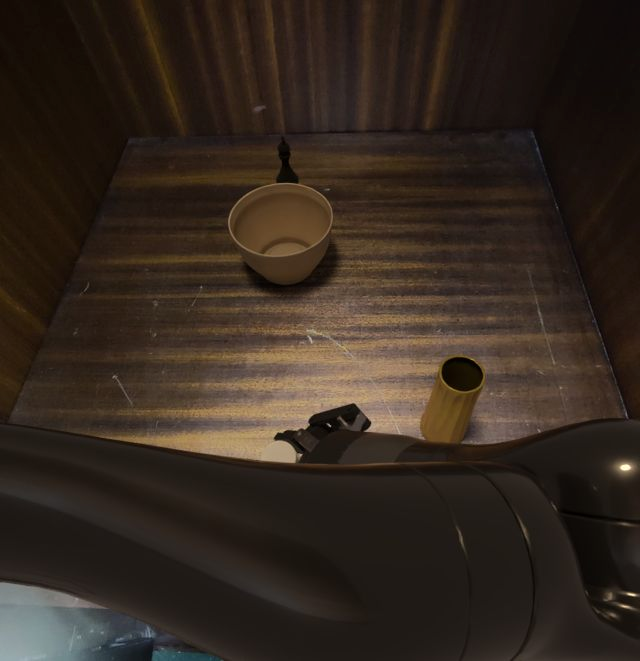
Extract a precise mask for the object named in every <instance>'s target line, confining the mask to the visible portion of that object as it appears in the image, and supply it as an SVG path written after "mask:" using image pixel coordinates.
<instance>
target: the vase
mask: <svg viewBox="0 0 640 661" xmlns="http://www.w3.org/2000/svg"><path fill="white" fill-rule="evenodd" d="M486 377H487V375H486V370H485V368H484V366H483V365H482V364H481V363H480V362H479V361H478V359H475V358H474V357H472V356H470V355H466V354H461V353H460V354H459V353H458V354H452V355H449V356H447V357H445V358H444V359H443V360H441V362H440V364H439V367H438V371H437V374H436V378H435V380H434V382H433V386H432V390H431V392H430V396H429V399H428V401H427V404H426V406H425V410H424V412H423V414H422V415H421V417H420V421H419V425H420V426H419V427H420V432H421V434H422V435H423V437H424V438H425V440H427V441H436V442H447V443H459V444H461V443H462V441H463V440H464V438H466V434H467V429H468V427H469V424H470V420H471V418H472V415H473V412H474V410H475V406H476V403H477V401H478V399H479V397H480V395H481V393H482V390H483V388H484V385H485V383H486V382H485V381H486Z"/></svg>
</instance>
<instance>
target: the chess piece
mask: <svg viewBox="0 0 640 661" xmlns="http://www.w3.org/2000/svg"><path fill="white" fill-rule="evenodd" d="M290 150H291V145H290V144H289V143H287V142H286V139H285V137H284V135H281V136H280V142H279V143H278V145H277V151H278V153H277V156H278V158H279V159H280V161H281V168H280V170H279V173H278V174H277V177H276V179H275V182H276V183H275V184H277V183H294V184H299V181H300V178H299V177H298V175H297V173H296V172H295V171H294V170H293V167H292V166H291V165H290V158H291V151H290Z"/></svg>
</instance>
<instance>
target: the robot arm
mask: <svg viewBox="0 0 640 661" xmlns="http://www.w3.org/2000/svg"><path fill="white" fill-rule="evenodd" d="M307 423H308V424H309V425H308V426H307V427H306V428H304V427H301V428H298V429H297V430H293V429H286V430H283V432H279V431H278V432H276V434H275V435H274V436H273V440H274V441H285V442H287V443H289V444H290V445H292V447H293V448H294V449H295V451H296V452H297V453H298V454H299V455H300V457H301V458H300V460H299V462H298V463H287V462H273V461H263V460H260V459H255V458H253V459H252V458H243V457H235V456H226V455H218V454H213V453H212V454H211V453H206V452H199V451H198V452H196V451H190V450H183V449H177V448H172V447H171V448H170V447H164V446H159V445H153V444H146V443H142V442H133V441H127V440H120V439H114V438H107V437H101V436H96V435H91V434H90V435H89V434H84V433H77V432H72V431H66V430H65V431H64V430H58V429H52V428H45V427H40V426H34V425H27V424H20V423H19V424H18V423H11V422H3V421H0V583H1V584H2V583H3V584H11V585H18V586H25V587H31V588H32V587H33V588H37V589H42V590H47V591H50V592H54V593H60V594H63V595H67V596H70V597H73V598H77V599H79V600H82V601H85V602H88V603H91V604H94V605H96V606H100V607H102V608H106V609H108V610H111V611H115V612H117V613H121V614H122V615H124V616H127V617H129V618H132V619H134V620H137V621H139V622H140V623H143V624H145V625H147V626H150V627H152V628H154V629H156V630H159V631H161V632H163V633H165V634H168V635H170V636H172V637H174V638H176V639H178V640H180V641H182V642H184V643H186V644H188V645H191V646H192V647H194V648H196V649H199V650H201V651H202V652H205V653H207V654H208V655H210V656H213V657H215V658H216V659H219V660H221V661H640V419H637V418H627V417H604V418H595V419H589V420H583V421H578V422H574V423H570V424H565V425H562V426H557V427H555V428H551V429H547V430H544V431H540V432H537V433H534V434H531V435H528V436H524V437H520V438H515V439H510V440H505V441H500V442H494V443H475V444H474V443H447V442H436V441H428V440H427V439H421V438H418V437H415V436H411V435H406V434H398V433H388V432H376V431H367V430H369V429H370V428H371V426H372V421H371V420H370V419H369V418H368V417H367V415H366V414H365V413H364V412H363V411H362V410H361V409H360V407H358V405H357V404H356V403H354V402H352V403H349V404H345V405H341V406H338V407H334V408H331V409H327V410H324V411H320V412H317V413H314V414H313V415H311V416H310V417H309V418H308V421H307Z"/></svg>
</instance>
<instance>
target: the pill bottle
mask: <svg viewBox="0 0 640 661" xmlns="http://www.w3.org/2000/svg"><path fill="white" fill-rule="evenodd" d="M300 458H301V454H298V453H297V452H296V451H295V449H294V448H293V447H292V445H290V444H289V443H287V442H285V441H275V440H274V441H273V440H272V441H271V442H269V443H267V444H266V445H265V446H264V447H263V448H262V449H261V450H260V454H259V460H263V461H273V462H287V463H298V462H299V460H300Z"/></svg>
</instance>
